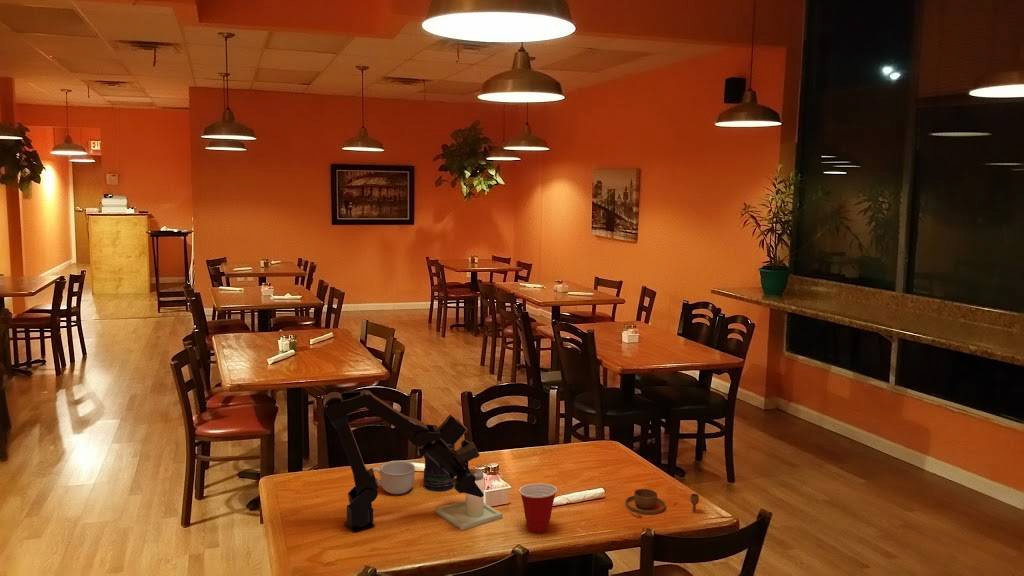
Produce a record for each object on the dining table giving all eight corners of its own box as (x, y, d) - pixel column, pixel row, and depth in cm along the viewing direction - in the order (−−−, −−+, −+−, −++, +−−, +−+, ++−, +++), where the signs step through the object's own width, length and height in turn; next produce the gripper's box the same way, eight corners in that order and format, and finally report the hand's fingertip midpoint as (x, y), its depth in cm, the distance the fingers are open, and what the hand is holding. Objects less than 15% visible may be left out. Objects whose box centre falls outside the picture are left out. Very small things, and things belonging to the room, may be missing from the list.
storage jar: (460, 484, 250) (461, 439, 248) (442, 494, 242) (443, 448, 240) (435, 477, 255) (436, 433, 253) (417, 487, 247) (417, 442, 245)
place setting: (644, 494, 247) (645, 476, 246) (701, 513, 233) (702, 494, 233) (612, 510, 234) (613, 492, 233) (670, 531, 221) (671, 512, 220)
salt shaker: (476, 519, 223) (477, 476, 221) (462, 514, 226) (462, 472, 224) (486, 512, 227) (487, 470, 226) (472, 508, 230) (472, 467, 228)
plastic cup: (533, 517, 227) (534, 477, 225) (563, 528, 220) (565, 487, 218) (509, 529, 218) (510, 488, 217) (540, 541, 212) (541, 499, 210)
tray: (462, 530, 217) (462, 525, 217) (435, 513, 228) (435, 508, 228) (502, 518, 225) (502, 513, 225) (474, 502, 236) (474, 497, 236)
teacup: (418, 485, 248) (418, 461, 247) (410, 498, 238) (410, 473, 237) (375, 482, 250) (375, 458, 249) (366, 496, 239) (366, 471, 238)
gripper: (468, 446, 213) (506, 482, 217) (457, 425, 231) (493, 458, 235) (439, 475, 213) (478, 510, 217) (431, 452, 231) (467, 485, 235)
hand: (479, 489), depth 226 cm, fingers open, 9 cm apart
